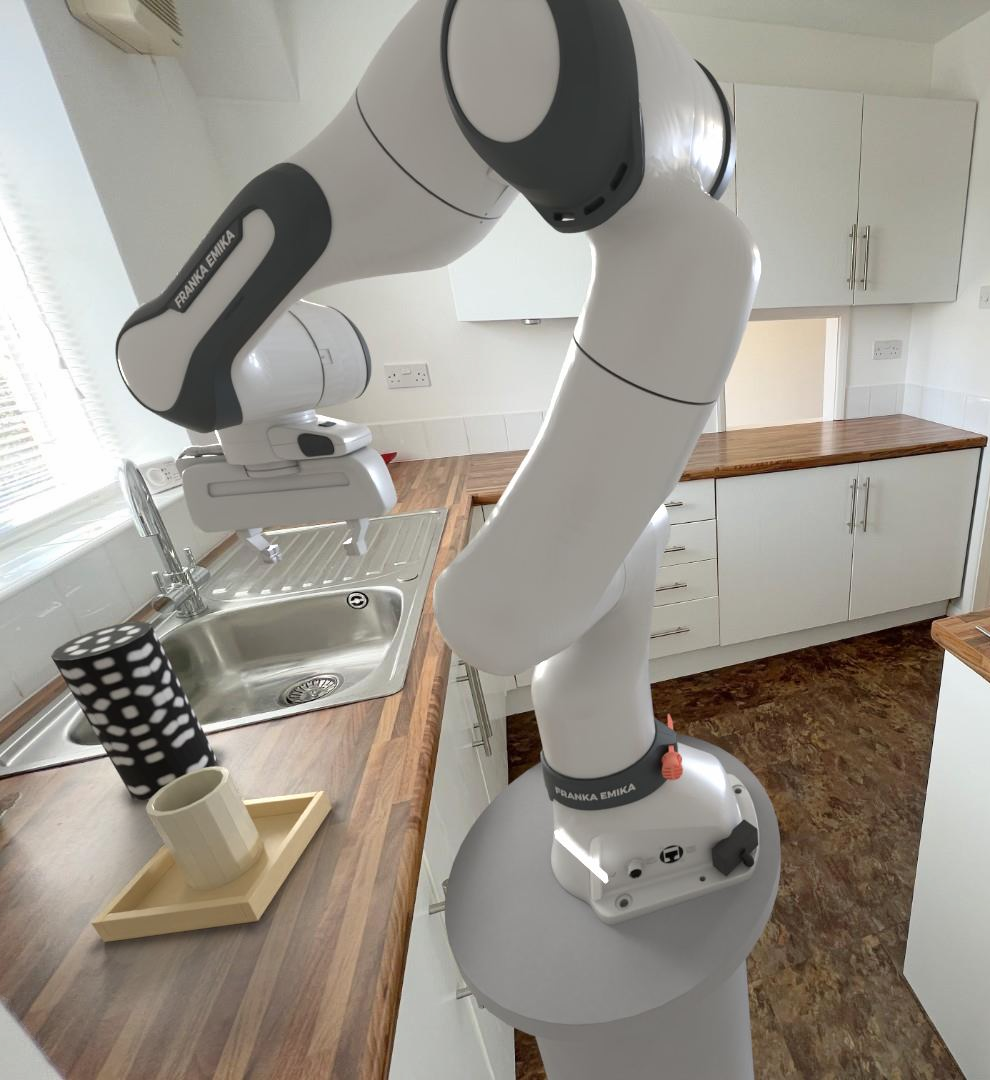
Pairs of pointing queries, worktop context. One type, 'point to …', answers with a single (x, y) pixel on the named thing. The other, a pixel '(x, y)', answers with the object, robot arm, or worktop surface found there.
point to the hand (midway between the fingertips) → (315, 558)
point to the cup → (206, 827)
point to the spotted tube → (135, 705)
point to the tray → (173, 906)
